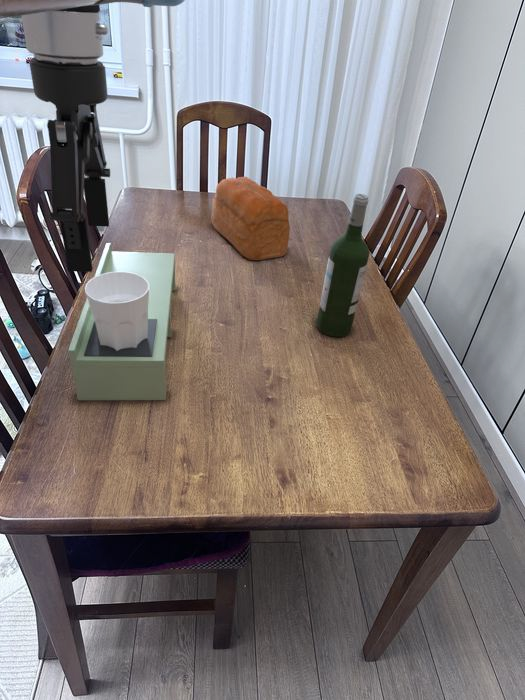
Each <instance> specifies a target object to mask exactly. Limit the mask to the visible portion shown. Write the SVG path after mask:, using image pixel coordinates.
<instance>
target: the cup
mask: <svg viewBox="0 0 525 700" xmlns="http://www.w3.org/2000/svg"><path fill="white" fill-rule="evenodd" d="M94 276H95V275H94ZM84 292H85V294H86V299H88V302H89V306H90V309H91V312H92V315H93V318H94V320H95V323H96V328H97V332H98V336H99V341H100V345H106V346H109V347H112V348H114V349H115V350H116V351H118V350H120V349H124V348H130V347H133V348H137V345H138V344H139V343H140V342H141V341H142V340H143V339H146V338H147V337H148V302H149V283H148V281H147V280H146V279H145V278H144V277H142V276H140V275H138V274H135V273H130V272H108V273H104V274H100V275H98V276H95V277H92V278H90V279H89V280H88V281H87V282H86V284H85V285H84Z"/></svg>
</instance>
